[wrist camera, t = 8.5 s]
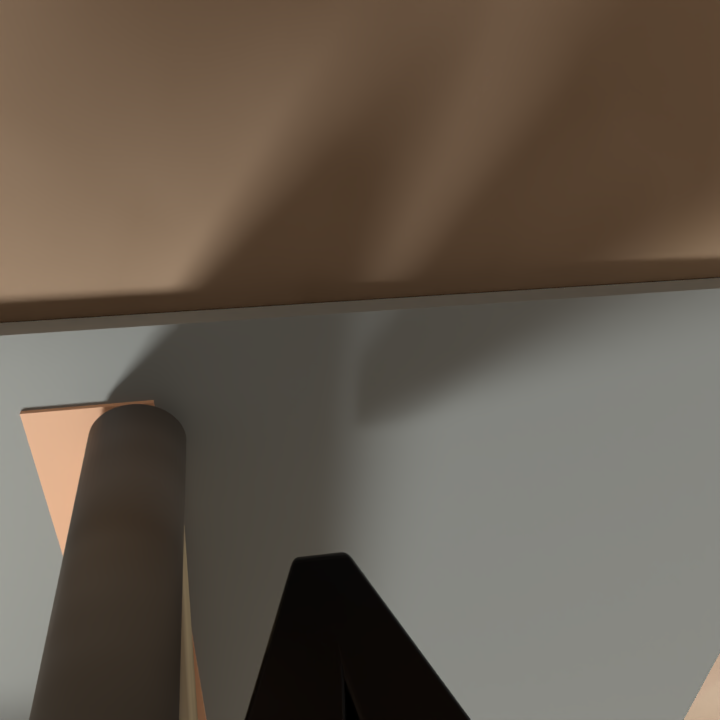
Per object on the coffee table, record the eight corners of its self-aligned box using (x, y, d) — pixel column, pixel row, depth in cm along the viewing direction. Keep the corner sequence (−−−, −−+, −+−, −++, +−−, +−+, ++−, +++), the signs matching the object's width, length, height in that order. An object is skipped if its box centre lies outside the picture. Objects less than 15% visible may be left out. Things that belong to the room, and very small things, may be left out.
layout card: (-1173, 396, 6) (-1235, 420, 6) (907, 266, 10) (927, 276, 10) (-307, 975, 15) (-317, 996, 15) (637, 783, 19) (643, 797, 19)
